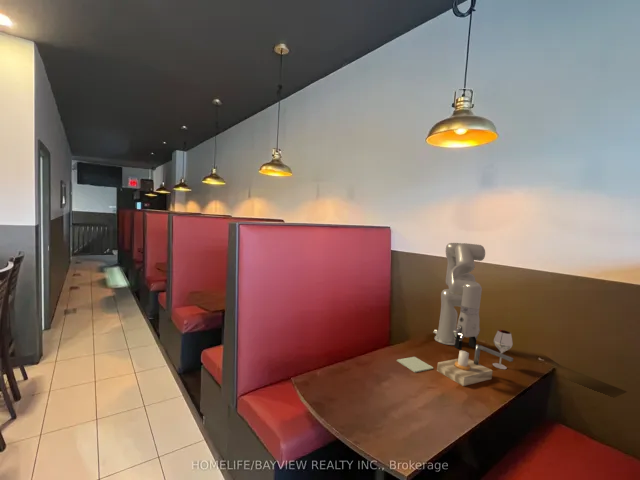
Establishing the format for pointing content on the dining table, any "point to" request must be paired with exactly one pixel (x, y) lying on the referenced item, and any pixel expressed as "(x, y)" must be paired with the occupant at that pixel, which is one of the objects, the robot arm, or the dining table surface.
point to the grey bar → (477, 352)
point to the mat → (415, 364)
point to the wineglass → (502, 345)
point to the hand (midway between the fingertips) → (465, 347)
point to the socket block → (464, 372)
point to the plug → (463, 361)
